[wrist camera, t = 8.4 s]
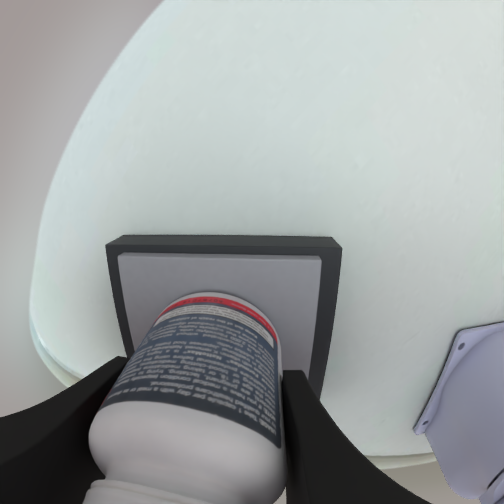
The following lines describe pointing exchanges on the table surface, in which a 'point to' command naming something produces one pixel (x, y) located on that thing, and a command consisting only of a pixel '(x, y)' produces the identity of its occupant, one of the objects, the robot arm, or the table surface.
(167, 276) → the scale
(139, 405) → the pill bottle
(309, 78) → the table surface
